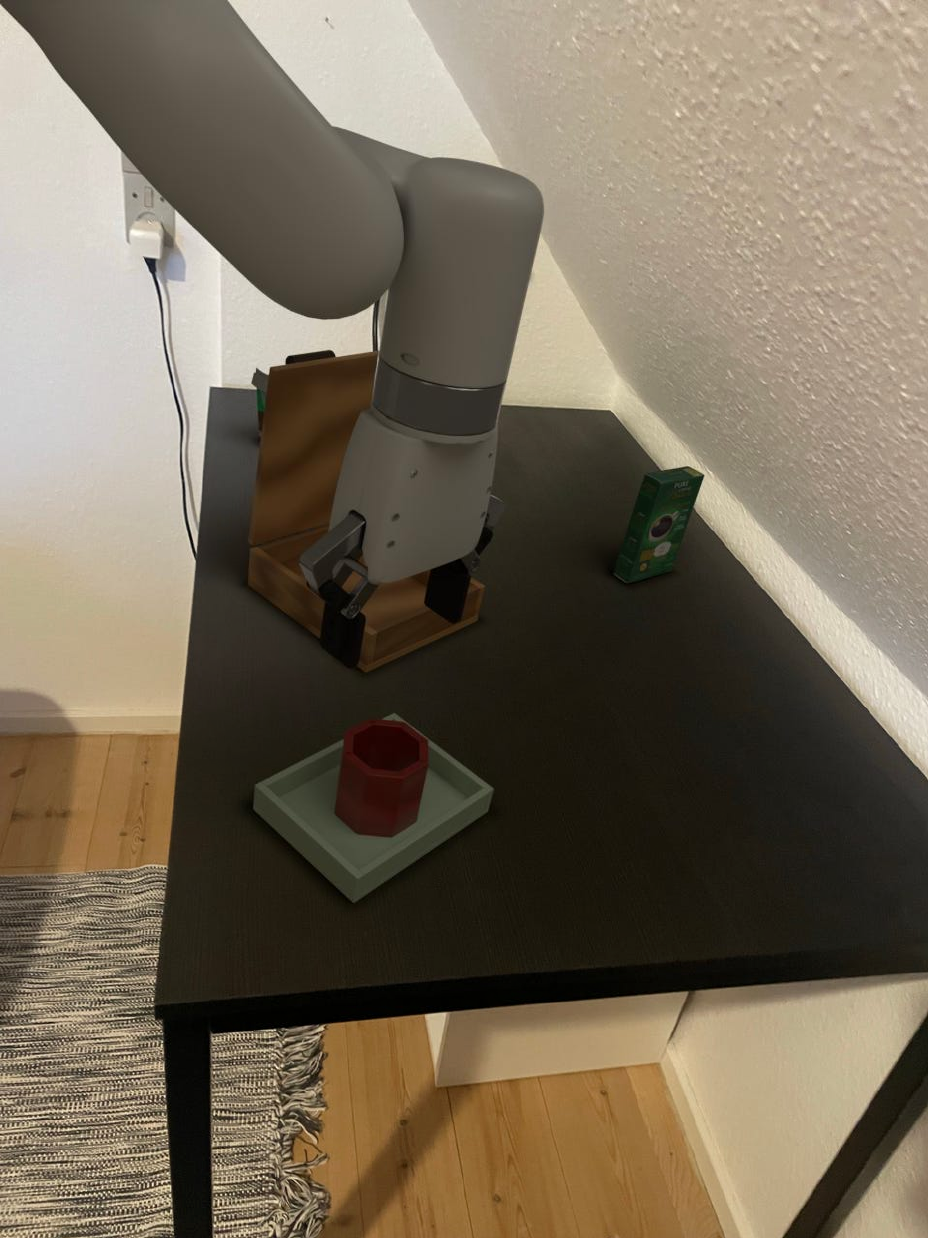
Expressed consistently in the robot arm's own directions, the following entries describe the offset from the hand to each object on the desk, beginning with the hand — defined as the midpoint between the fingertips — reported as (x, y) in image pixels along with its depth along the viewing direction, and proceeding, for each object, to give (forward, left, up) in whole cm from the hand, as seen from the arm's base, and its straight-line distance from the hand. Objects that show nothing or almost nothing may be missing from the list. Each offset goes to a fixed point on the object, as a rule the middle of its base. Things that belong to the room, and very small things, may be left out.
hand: (392, 634), depth 64 cm
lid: (+19, +29, -2) cm, 34 cm away
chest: (+19, +21, -16) cm, 32 cm away
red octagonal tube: (0, -1, -15) cm, 15 cm away
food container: (+37, +53, -16) cm, 67 cm away
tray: (0, -1, -16) cm, 16 cm away
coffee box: (+52, +8, -16) cm, 55 cm away
